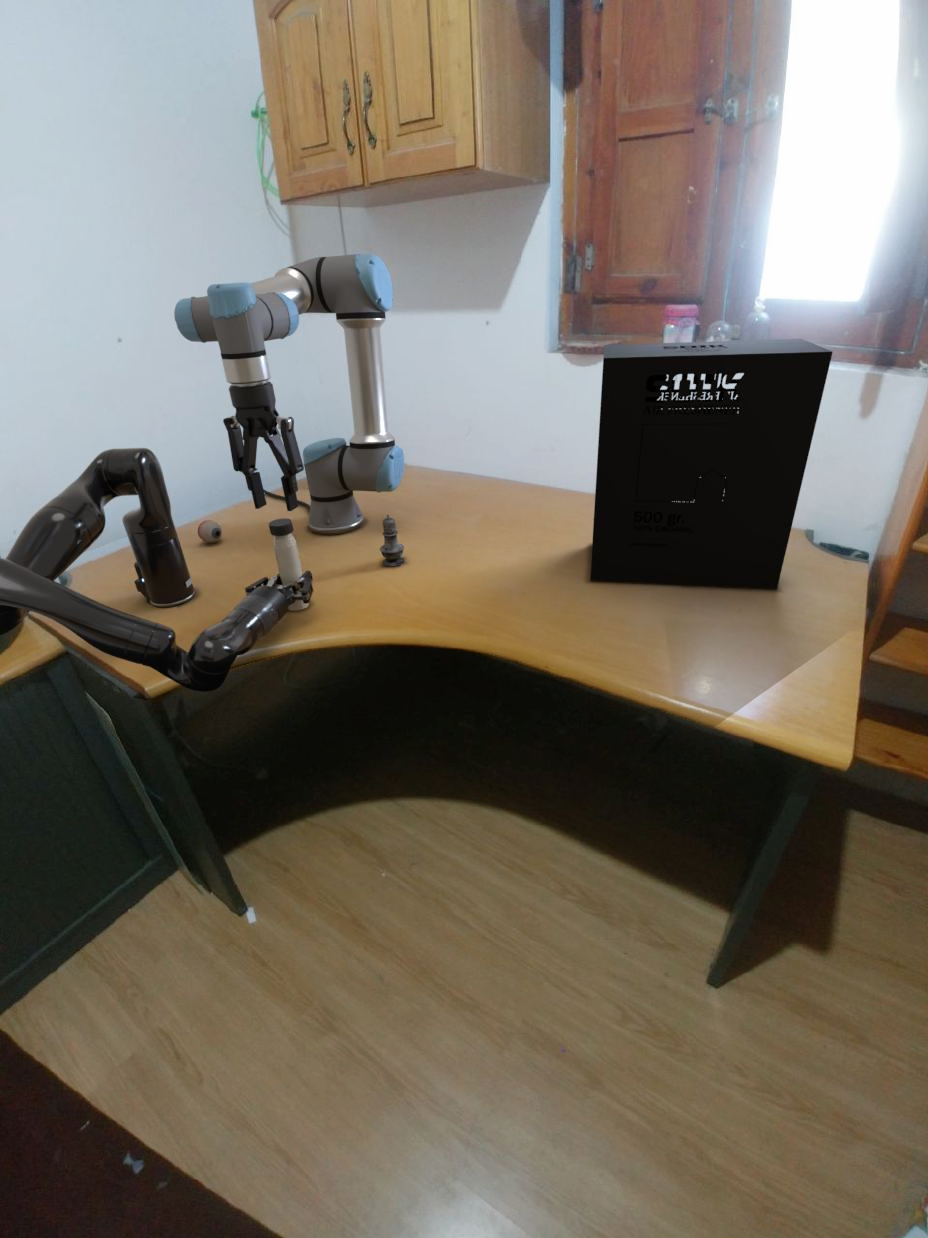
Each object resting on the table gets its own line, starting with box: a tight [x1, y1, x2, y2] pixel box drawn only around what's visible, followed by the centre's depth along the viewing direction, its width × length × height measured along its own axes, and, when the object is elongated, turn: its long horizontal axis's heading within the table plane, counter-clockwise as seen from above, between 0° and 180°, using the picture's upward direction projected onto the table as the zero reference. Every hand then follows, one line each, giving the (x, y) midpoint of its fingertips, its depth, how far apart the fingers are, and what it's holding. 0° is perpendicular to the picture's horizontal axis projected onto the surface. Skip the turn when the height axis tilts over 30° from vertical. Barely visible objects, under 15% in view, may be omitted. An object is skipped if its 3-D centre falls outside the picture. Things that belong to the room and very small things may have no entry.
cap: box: [268, 517, 294, 537], centre depth 120 cm, size 4×4×2 cm
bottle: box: [272, 533, 310, 612], centre depth 124 cm, size 5×5×18 cm
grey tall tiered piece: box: [379, 514, 405, 567], centre depth 143 cm, size 6×6×12 cm
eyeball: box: [197, 519, 223, 544], centre depth 161 cm, size 6×6×6 cm
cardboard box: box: [589, 338, 834, 590], centre depth 125 cm, size 38×20×45 cm, turn 78°
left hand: (298, 574), depth 128 cm, fingers closed on bottle, 4 cm apart
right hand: (276, 507), depth 118 cm, fingers open, 7 cm apart
